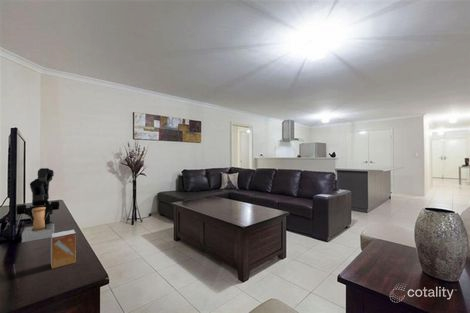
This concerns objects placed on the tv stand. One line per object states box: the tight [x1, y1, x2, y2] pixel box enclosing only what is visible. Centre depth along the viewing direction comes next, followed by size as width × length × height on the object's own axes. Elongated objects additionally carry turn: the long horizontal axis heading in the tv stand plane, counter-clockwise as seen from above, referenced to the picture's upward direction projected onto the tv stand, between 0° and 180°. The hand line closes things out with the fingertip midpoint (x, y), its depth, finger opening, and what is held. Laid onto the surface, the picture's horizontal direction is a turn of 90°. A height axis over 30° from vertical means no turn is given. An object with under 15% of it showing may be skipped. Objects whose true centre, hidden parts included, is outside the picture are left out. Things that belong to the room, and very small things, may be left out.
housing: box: [21, 223, 55, 243], centre depth 126 cm, size 13×13×4 cm
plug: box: [32, 207, 46, 231], centre depth 126 cm, size 6×6×13 cm
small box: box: [50, 229, 77, 270], centre depth 94 cm, size 8×6×13 cm
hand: (39, 219), depth 125 cm, fingers closed on plug, 5 cm apart
